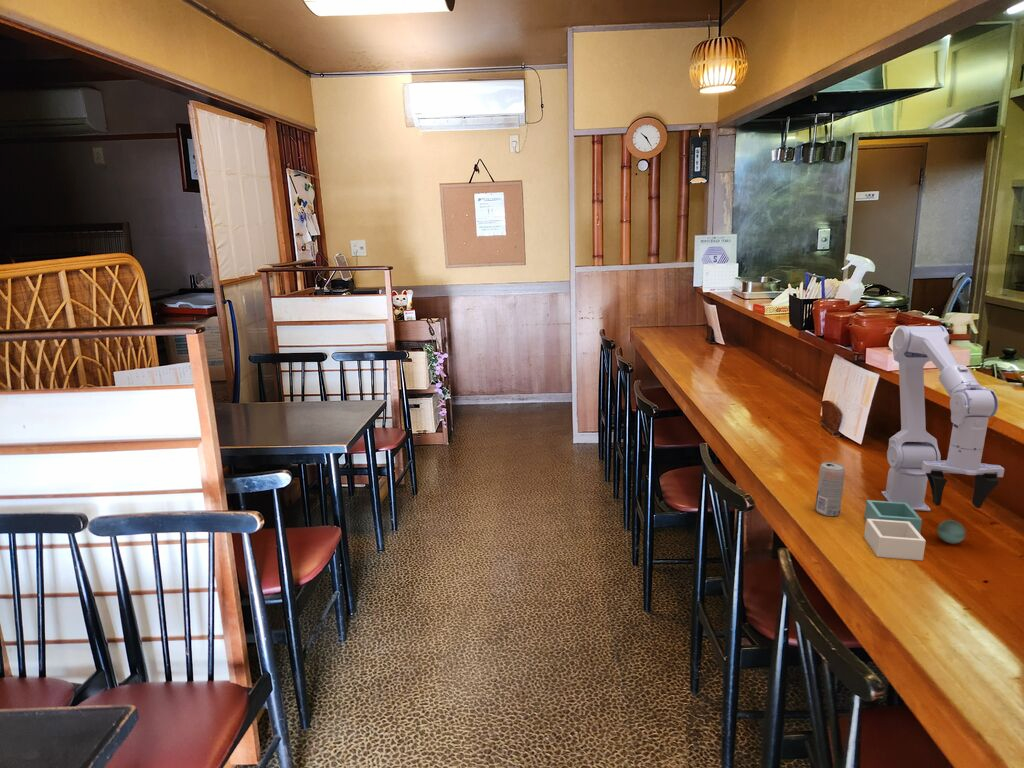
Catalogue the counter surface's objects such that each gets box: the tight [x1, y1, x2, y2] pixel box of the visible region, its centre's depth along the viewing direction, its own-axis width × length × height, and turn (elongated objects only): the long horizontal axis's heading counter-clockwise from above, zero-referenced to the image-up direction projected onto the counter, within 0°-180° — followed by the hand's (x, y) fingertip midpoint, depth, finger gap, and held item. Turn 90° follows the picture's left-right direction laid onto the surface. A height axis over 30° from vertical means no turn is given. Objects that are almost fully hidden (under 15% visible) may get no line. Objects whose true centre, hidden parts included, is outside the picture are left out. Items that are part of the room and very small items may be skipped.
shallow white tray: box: [863, 519, 927, 561], centre depth 134 cm, size 9×9×4 cm
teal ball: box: [937, 519, 967, 544], centre depth 136 cm, size 5×5×5 cm
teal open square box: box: [864, 499, 923, 534], centre depth 143 cm, size 9×9×4 cm
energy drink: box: [814, 461, 846, 517], centre depth 150 cm, size 5×5×12 cm
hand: (956, 504), depth 134 cm, fingers open, 7 cm apart
